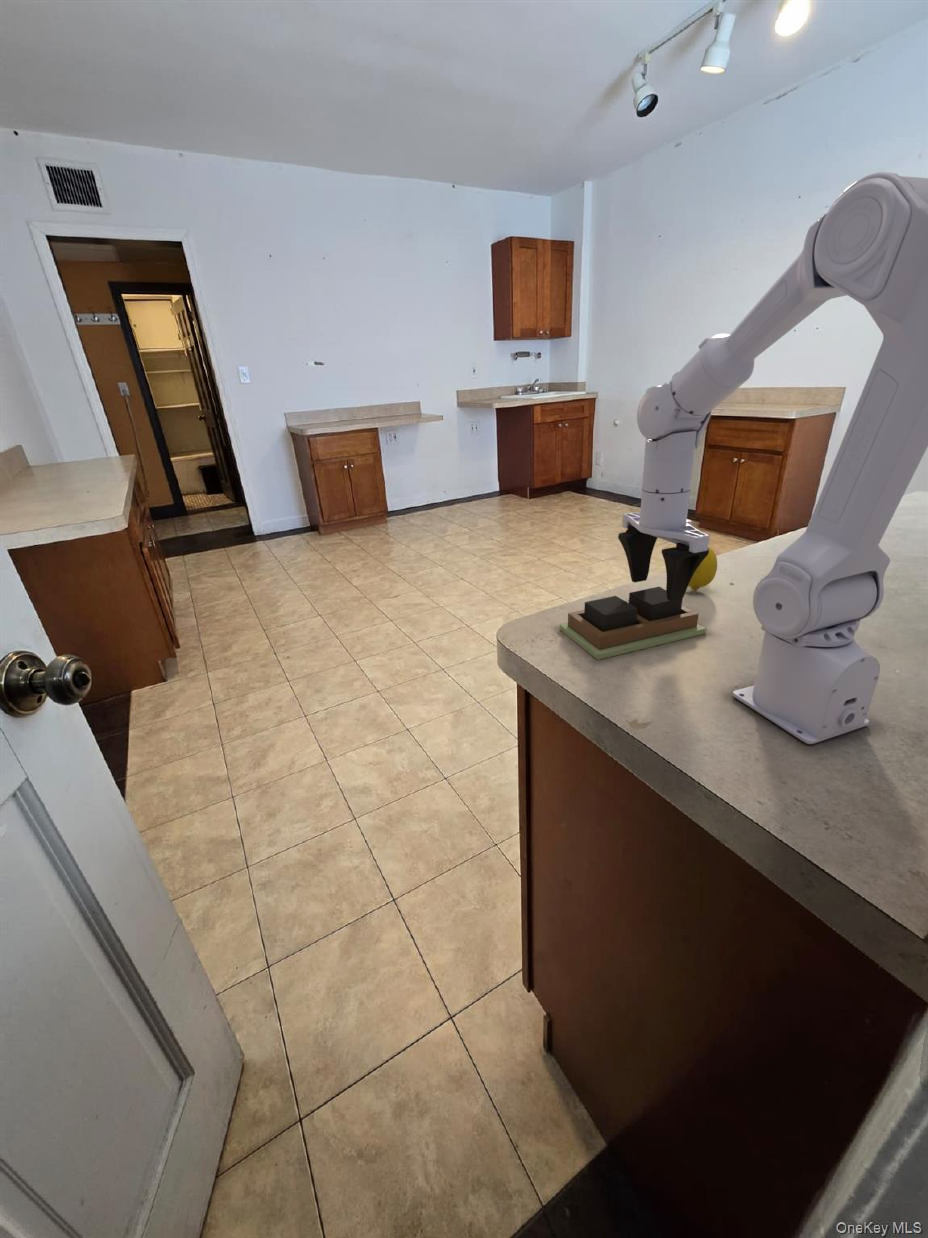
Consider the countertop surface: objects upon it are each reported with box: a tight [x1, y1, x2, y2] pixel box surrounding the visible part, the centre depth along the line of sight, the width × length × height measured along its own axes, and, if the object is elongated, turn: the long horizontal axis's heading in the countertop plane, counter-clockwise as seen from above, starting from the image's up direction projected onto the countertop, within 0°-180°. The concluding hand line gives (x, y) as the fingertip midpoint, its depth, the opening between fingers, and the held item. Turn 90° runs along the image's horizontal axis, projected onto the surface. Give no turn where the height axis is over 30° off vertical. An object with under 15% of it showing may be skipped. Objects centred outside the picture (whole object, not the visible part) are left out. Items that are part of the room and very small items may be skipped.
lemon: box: [688, 546, 718, 591], centre depth 82 cm, size 6×6×8 cm
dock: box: [559, 599, 707, 661], centre depth 71 cm, size 10×17×3 cm, turn 109°
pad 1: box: [583, 595, 637, 632], centre depth 70 cm, size 5×5×4 cm
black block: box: [628, 586, 684, 621], centre depth 72 cm, size 5×5×4 cm
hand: (656, 589), depth 70 cm, fingers open, 7 cm apart
